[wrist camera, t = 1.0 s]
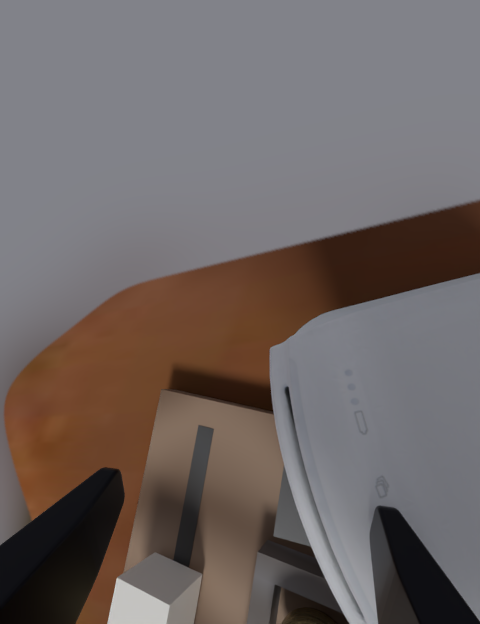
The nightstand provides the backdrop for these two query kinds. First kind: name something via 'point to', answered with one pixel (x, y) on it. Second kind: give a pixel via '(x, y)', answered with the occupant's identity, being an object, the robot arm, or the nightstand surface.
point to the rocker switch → (288, 516)
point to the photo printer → (385, 432)
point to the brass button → (307, 617)
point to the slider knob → (156, 593)
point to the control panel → (224, 512)
